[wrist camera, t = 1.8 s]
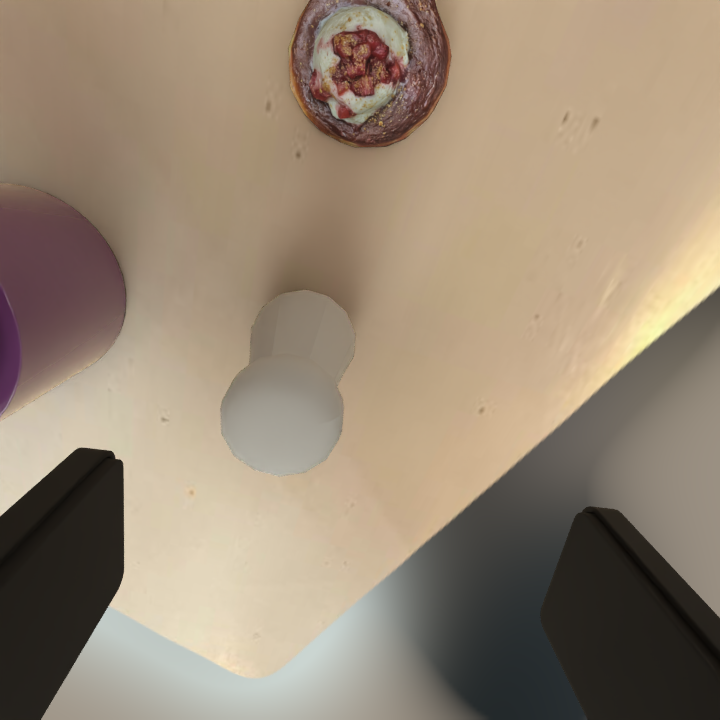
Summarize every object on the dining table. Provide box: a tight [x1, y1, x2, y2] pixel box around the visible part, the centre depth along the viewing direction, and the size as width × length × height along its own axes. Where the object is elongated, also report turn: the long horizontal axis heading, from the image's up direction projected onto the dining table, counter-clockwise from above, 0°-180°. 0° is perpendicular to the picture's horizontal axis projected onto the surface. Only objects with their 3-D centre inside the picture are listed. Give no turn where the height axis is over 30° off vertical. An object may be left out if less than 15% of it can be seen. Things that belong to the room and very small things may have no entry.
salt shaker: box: [221, 290, 356, 476], centre depth 21 cm, size 6×6×13 cm
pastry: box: [288, 0, 451, 147], centre depth 20 cm, size 8×8×5 cm
